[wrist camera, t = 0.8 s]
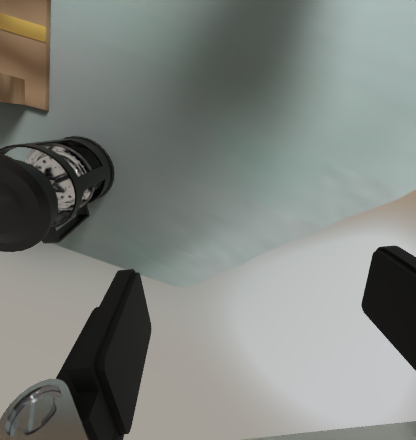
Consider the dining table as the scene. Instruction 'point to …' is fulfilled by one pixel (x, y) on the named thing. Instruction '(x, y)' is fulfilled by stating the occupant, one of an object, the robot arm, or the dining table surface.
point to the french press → (48, 191)
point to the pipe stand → (25, 52)
